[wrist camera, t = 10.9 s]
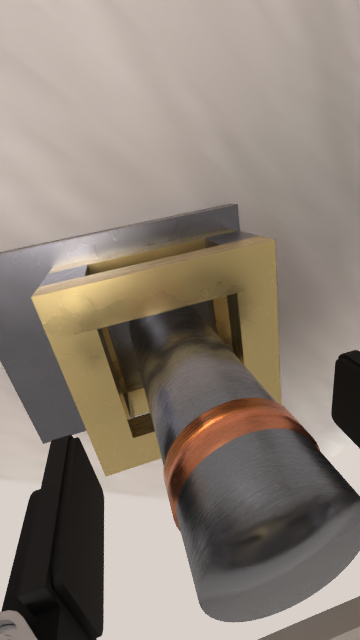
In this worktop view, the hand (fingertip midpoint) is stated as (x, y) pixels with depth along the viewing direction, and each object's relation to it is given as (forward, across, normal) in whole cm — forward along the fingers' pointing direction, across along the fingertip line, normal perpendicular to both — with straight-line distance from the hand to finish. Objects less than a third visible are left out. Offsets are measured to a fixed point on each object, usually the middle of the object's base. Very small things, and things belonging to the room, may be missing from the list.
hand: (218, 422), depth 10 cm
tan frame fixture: (+11, +2, +1) cm, 11 cm away
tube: (+10, 0, +1) cm, 10 cm away
